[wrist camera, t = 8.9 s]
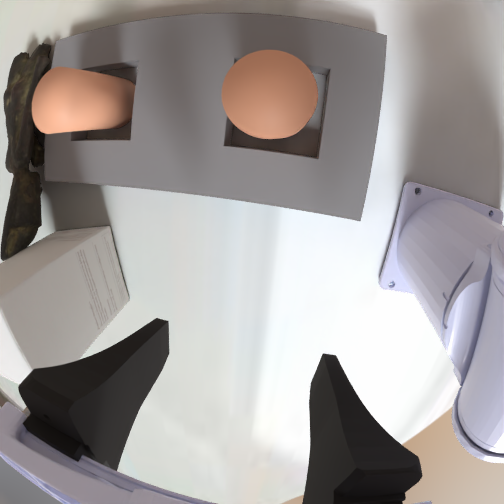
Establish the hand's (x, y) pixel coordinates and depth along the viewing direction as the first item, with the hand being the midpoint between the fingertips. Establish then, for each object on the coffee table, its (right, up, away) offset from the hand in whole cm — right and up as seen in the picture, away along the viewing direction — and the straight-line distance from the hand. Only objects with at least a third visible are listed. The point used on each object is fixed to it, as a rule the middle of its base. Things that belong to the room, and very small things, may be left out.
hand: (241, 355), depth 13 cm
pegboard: (-4, +15, +5) cm, 16 cm away
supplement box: (-14, +4, +11) cm, 18 cm away
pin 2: (+2, +14, +4) cm, 15 cm away
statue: (-19, +15, +8) cm, 25 cm away
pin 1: (-10, +16, +5) cm, 19 cm away
